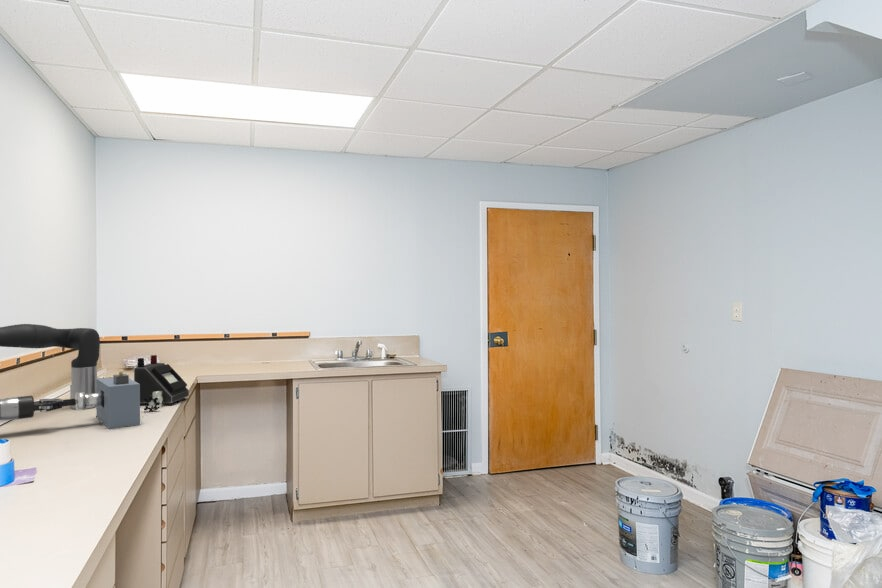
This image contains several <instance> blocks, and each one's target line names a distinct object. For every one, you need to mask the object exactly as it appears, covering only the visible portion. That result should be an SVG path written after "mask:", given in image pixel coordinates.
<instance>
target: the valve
mask: <svg viewBox="0 0 882 588" xmlns="http://www.w3.org/2000/svg"><path fill="white" fill-rule="evenodd" d="M149 400H151V401H149ZM144 401H146V402H145V403H142V405H141V406H143V407H144V408H143V409H144V411H145V412H146V411H148V410H149V413H152V412H153V411H154V410H155V411H157V410H159V408H158V407H161V408H163V403H162V402H163V397H162V391H155V392H153V396H150V397H149V399H147V398H145V399H144ZM147 402H149V403H147ZM147 404H148V405H147Z"/></svg>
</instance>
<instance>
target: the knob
mask: <svg viewBox="0 0 882 588" xmlns="http://www.w3.org/2000/svg"><path fill="white" fill-rule="evenodd" d="M75 400H76V405H75V407H76V409H75V411H84V410H86V409H85V408H86V407H93V406H101V405H104V392H100V393H91V394H85V392H78V393H76V394H75ZM93 408H94V407H93Z"/></svg>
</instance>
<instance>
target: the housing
mask: <svg viewBox="0 0 882 588" xmlns="http://www.w3.org/2000/svg"><path fill="white" fill-rule="evenodd" d="M100 392H104V405H101V406H96V407H95V408H96V418H97V419H98V420H99V421H100V422H101V423H102V424H103V425H104V426H105V427H106V428H108V429H109V430H112V429H119V427H120V428H126V426H127V427H134V426H140V425H141V405H140V384H139V383H137V382H135V381H134V379H131V378H129V384H119V385H116V384H114V381H113V377H101V378H97V379H96V393H100ZM133 425H134V426H133Z"/></svg>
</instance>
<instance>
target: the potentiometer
mask: <svg viewBox="0 0 882 588" xmlns="http://www.w3.org/2000/svg"><path fill="white" fill-rule="evenodd" d="M129 377H130V375H129V374H127V373H124V369H119V370H118V374H113V381H114V384H116V385H119V384H129V379H130V378H129Z"/></svg>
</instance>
